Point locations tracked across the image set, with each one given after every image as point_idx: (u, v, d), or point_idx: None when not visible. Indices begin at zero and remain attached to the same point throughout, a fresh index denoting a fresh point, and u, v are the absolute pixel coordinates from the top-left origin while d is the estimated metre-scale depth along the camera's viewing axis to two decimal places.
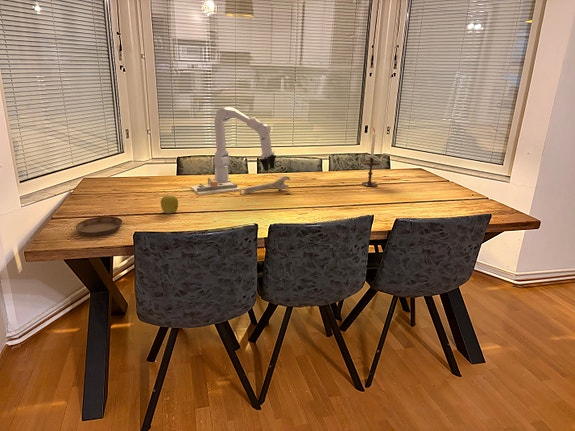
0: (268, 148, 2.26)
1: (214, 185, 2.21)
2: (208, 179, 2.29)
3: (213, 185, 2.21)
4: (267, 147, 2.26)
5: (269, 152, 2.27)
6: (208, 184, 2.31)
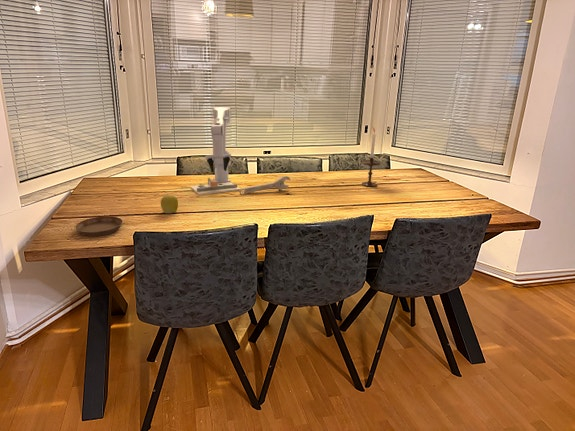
0: (216, 150, 2.20)
1: (214, 185, 2.21)
2: (208, 179, 2.29)
3: (213, 185, 2.21)
4: (215, 149, 2.20)
5: (216, 154, 2.21)
6: (208, 184, 2.31)
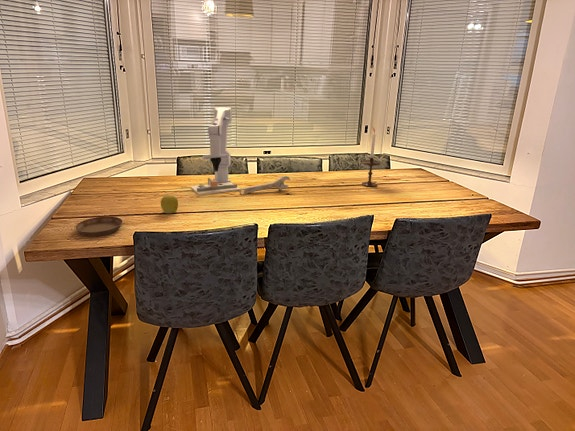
0: (213, 150, 2.21)
1: (214, 185, 2.21)
2: (208, 179, 2.29)
3: (213, 185, 2.21)
4: (212, 149, 2.20)
5: (214, 154, 2.21)
6: (208, 184, 2.31)
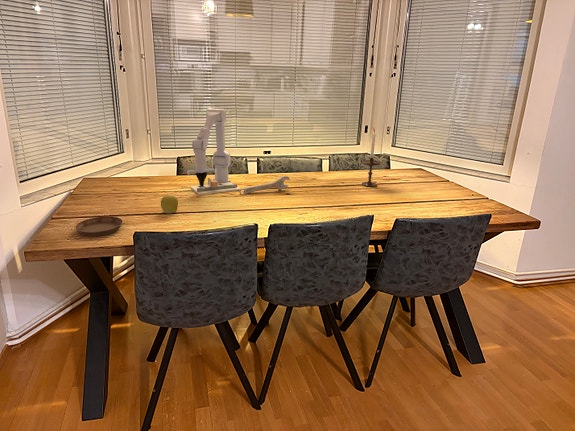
0: (198, 165, 2.13)
1: (214, 185, 2.21)
2: (208, 179, 2.29)
3: (213, 185, 2.21)
4: (197, 164, 2.13)
5: (199, 169, 2.14)
6: (208, 184, 2.31)
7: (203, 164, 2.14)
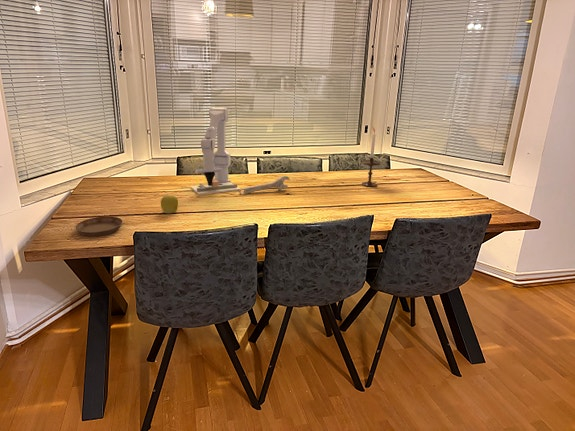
0: (206, 164, 2.15)
1: (215, 185, 2.21)
2: None
3: (214, 185, 2.21)
4: (205, 163, 2.15)
5: (207, 168, 2.16)
6: None
7: (211, 163, 2.16)
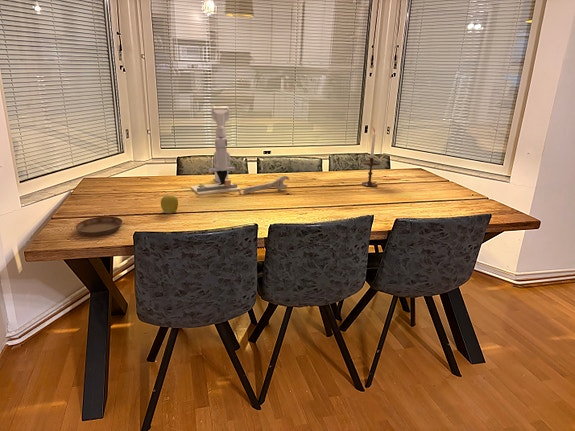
0: (219, 163, 2.19)
1: (228, 184, 2.25)
2: None
3: (227, 184, 2.24)
4: (218, 162, 2.19)
5: (220, 167, 2.19)
6: None
7: (224, 162, 2.19)
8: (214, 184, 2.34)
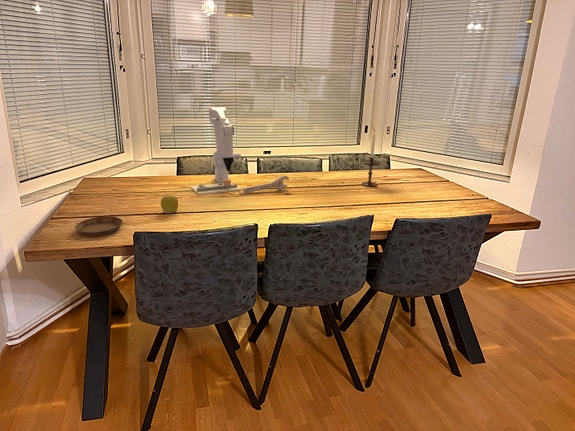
0: (225, 150, 2.22)
1: (228, 184, 2.25)
2: (221, 178, 2.32)
3: (227, 184, 2.24)
4: (225, 149, 2.22)
5: (226, 154, 2.23)
6: (221, 183, 2.34)
7: (230, 149, 2.23)
8: (214, 184, 2.34)
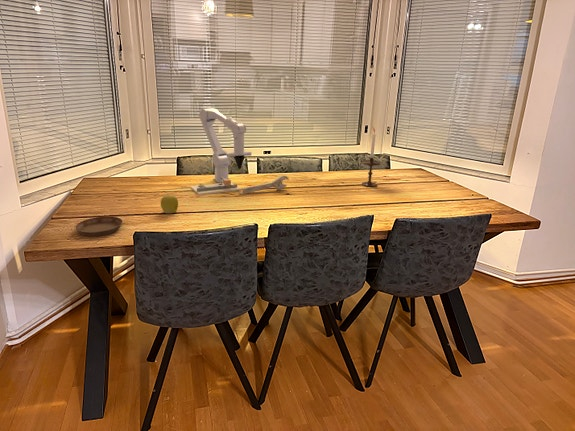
0: (237, 148, 2.28)
1: (228, 184, 2.25)
2: (221, 178, 2.32)
3: (227, 184, 2.24)
4: (236, 147, 2.28)
5: (237, 152, 2.29)
6: (221, 183, 2.34)
7: (241, 147, 2.29)
8: (214, 184, 2.34)
